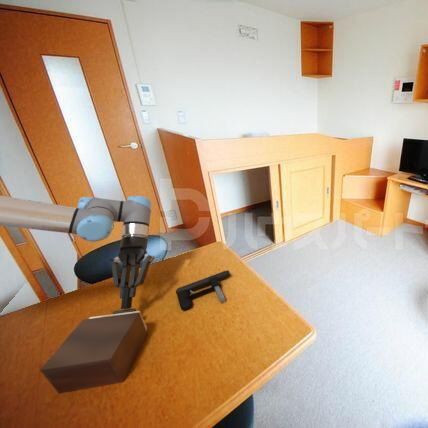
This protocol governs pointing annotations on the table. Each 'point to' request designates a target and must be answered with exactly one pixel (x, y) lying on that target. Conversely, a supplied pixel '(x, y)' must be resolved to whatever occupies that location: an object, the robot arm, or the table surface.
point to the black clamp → (215, 286)
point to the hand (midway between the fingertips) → (125, 308)
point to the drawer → (121, 312)
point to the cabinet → (96, 353)
